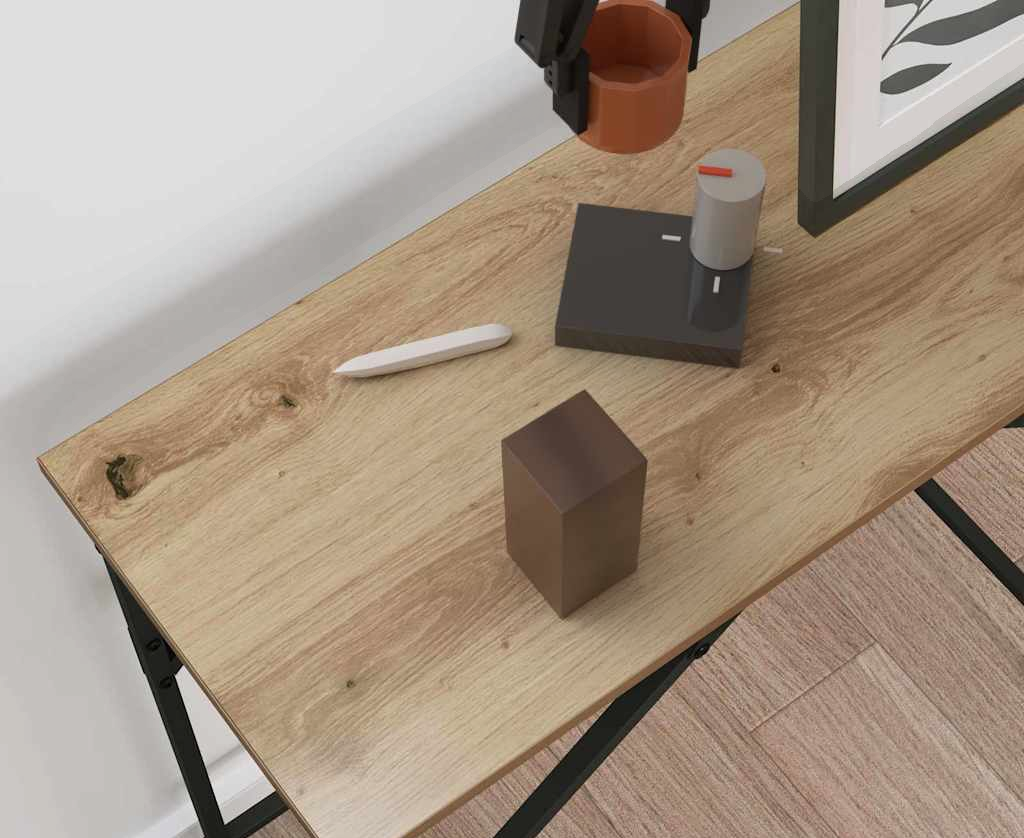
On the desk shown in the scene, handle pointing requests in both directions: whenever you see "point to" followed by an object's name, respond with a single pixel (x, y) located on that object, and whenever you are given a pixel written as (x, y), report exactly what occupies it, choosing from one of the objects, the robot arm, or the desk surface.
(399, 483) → the desk surface
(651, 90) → the bowl
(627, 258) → the stove
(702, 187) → the knob
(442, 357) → the pen
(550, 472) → the stand
